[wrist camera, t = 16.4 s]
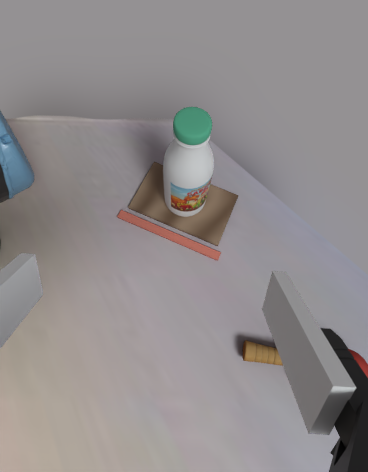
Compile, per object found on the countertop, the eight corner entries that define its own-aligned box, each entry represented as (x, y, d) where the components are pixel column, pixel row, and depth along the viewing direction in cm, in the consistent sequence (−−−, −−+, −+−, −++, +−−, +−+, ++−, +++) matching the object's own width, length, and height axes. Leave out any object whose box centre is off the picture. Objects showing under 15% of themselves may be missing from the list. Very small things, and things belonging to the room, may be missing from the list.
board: (128, 208, 48) (128, 207, 48) (154, 163, 52) (154, 161, 51) (217, 246, 46) (217, 245, 46) (237, 197, 50) (238, 195, 49)
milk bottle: (157, 205, 48) (147, 129, 29) (177, 175, 50) (180, 85, 31) (193, 225, 47) (207, 159, 28) (212, 192, 49) (236, 111, 30)
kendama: (239, 380, 41) (361, 404, 38) (244, 379, 35) (387, 407, 33) (242, 330, 45) (353, 348, 42) (247, 322, 39) (375, 343, 37)
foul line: (117, 217, 47) (117, 216, 47) (121, 210, 48) (121, 209, 48) (217, 260, 46) (217, 260, 45) (220, 253, 46) (220, 252, 46)
